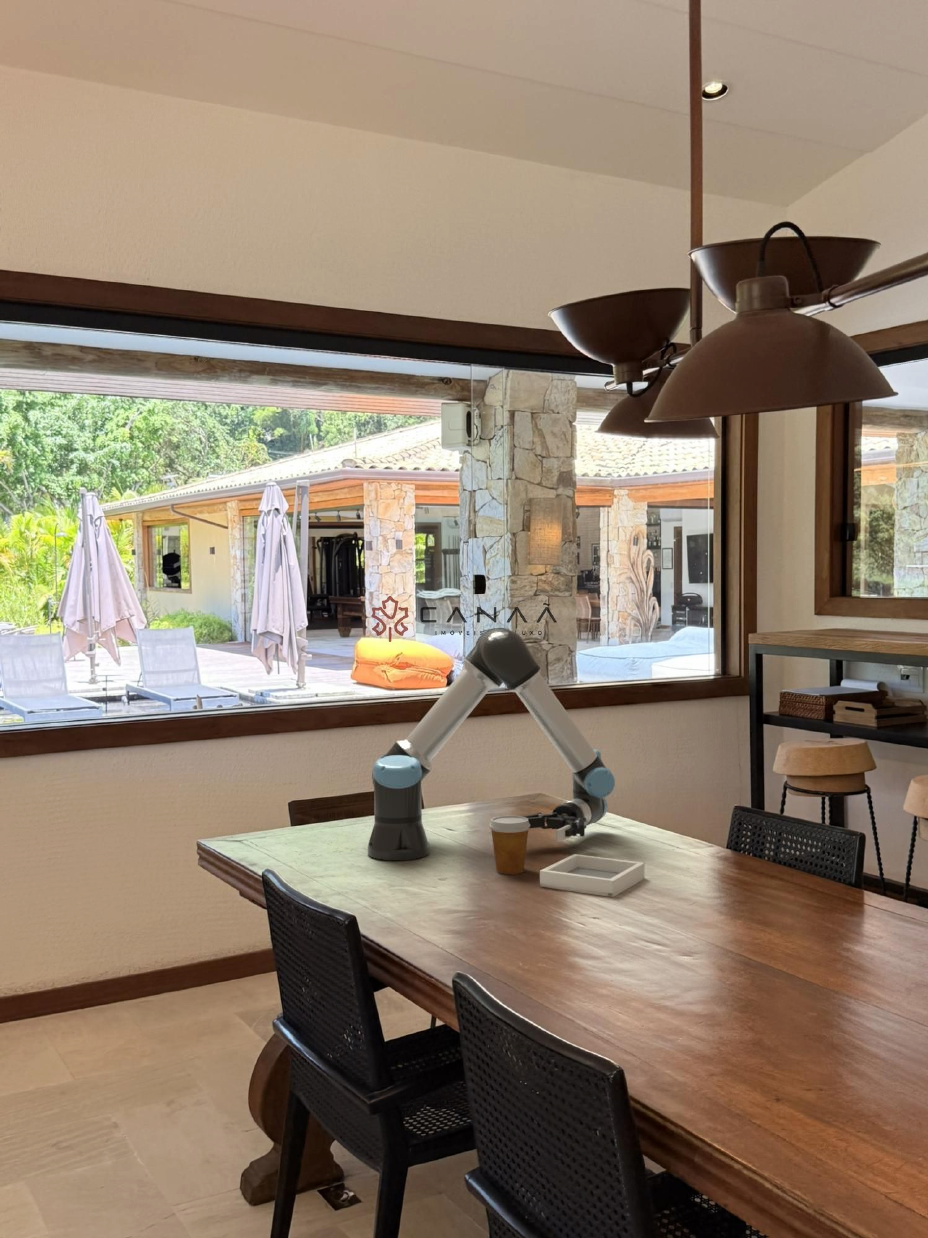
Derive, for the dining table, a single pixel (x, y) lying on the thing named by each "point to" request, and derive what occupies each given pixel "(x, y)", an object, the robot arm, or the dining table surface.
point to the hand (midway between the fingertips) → (531, 833)
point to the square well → (592, 875)
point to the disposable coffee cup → (509, 843)
